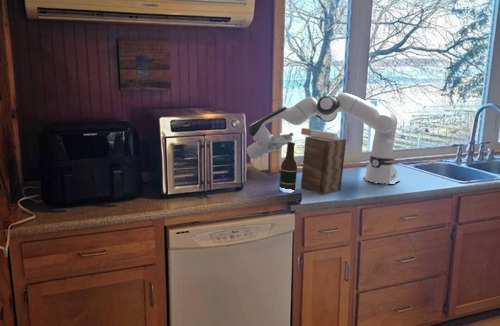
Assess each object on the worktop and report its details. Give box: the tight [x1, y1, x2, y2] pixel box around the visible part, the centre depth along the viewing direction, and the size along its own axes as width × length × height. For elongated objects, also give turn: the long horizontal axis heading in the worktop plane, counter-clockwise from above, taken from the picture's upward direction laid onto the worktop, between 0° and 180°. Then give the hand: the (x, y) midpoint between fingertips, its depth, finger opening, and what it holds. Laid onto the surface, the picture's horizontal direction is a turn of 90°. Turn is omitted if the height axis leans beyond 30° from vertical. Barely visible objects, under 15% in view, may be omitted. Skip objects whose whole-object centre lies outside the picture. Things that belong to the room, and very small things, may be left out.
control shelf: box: [300, 136, 347, 195], centre depth 227 cm, size 16×13×26 cm
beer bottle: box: [278, 141, 298, 191], centre depth 218 cm, size 8×8×24 cm
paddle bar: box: [300, 127, 338, 140], centre depth 227 cm, size 2×20×3 cm, turn 46°
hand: (286, 134), depth 241 cm, fingers open, 8 cm apart
